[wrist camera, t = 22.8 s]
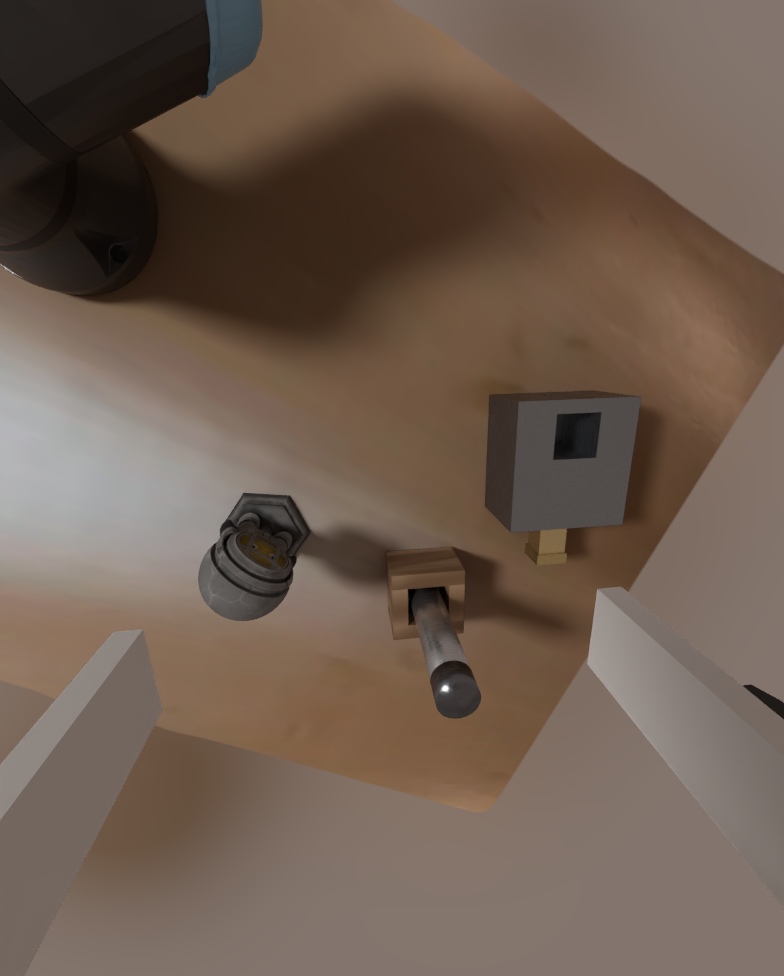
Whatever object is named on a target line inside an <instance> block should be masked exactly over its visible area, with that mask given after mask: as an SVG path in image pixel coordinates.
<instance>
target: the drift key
mask: <svg viewBox="0 0 784 976" xmlns="http://www.w3.org/2000/svg"><path fill="white" fill-rule="evenodd" d="M566 533H567V529H553V530H539V531H529V537H528V543H526V545H525V553H526V554H527V555H528V557H529V558H530V559H531V560H532V561H533V562H534V563H535V564H536V565H548V564H561V563H566V558H567V553H566V552H565V543H566Z"/></svg>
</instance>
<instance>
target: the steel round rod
mask: <svg viewBox="0 0 784 976" xmlns="http://www.w3.org/2000/svg"><path fill="white" fill-rule="evenodd" d="M408 595H409V598H410V602H411V606H412V610H413V614H414V618H415V622H416V626H417V630H418V634H419V638H420V642H421V646H422V650H423V653H424V657H425V661H426V665H427V669H428V673H429V677H430V683H431V687H432V691H433V695H434V699H435V703H436V707H437V710H438V711H439V712H440V713H441V714H442V715H443V716H445V717H448V718H454V719H456V718H462V717H466V716H468V715H470V714H471V713H473V712H474V711H475V710H476V709H477V708H478V706H479V704H480V701H481V693H480V691H479V688H478V686H477V683H476V681H475V678H474V676H473V673H472V670H471V669H470V667H469V664H468V662H467V659H466V657H465V654H464V652H463V649H462V646H461V644H460V641H459V639H458V636H457V634H456V631H455V629H454V626H453V623H452V621H451V618H450V616H449V613H448V611H447V608H446V605H445V603H444V600H443V598H442V595H441V593H440V590H439V588H438V587H428V588H416V589H408Z"/></svg>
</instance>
